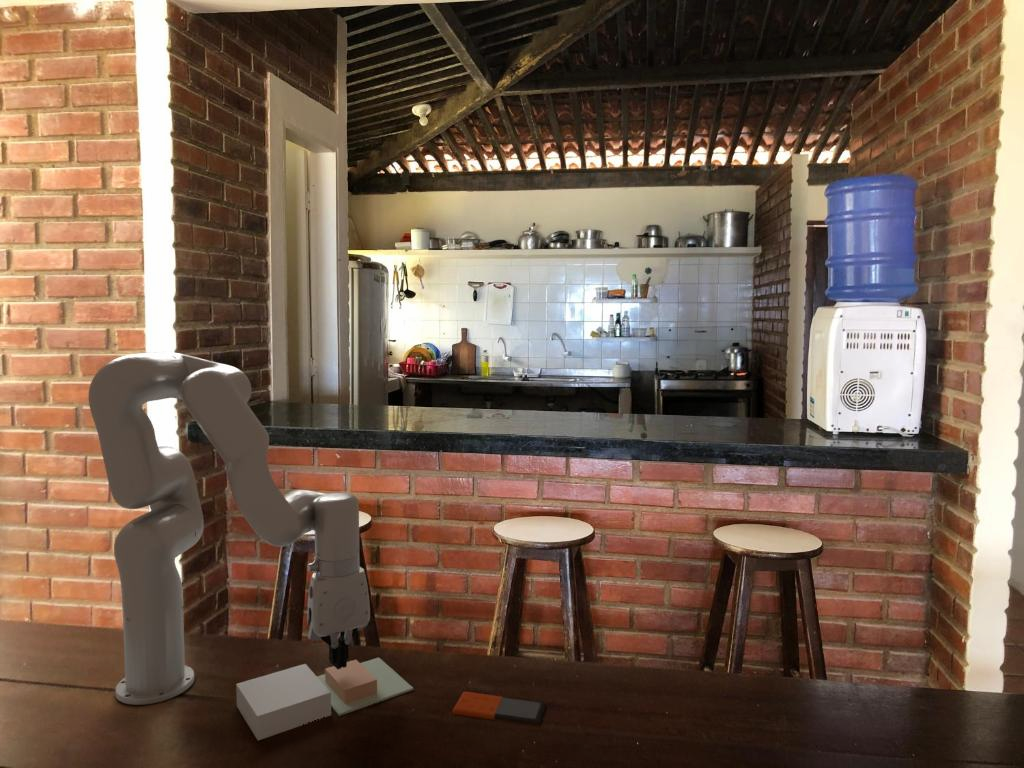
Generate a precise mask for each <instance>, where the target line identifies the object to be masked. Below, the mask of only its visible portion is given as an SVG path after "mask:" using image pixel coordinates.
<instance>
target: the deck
mask: <svg viewBox="0 0 1024 768" xmlns="http://www.w3.org/2000/svg"><path fill="white" fill-rule="evenodd" d="M317 676H318V675H316V674H315V673H314V672H313V671H312V669H311V668H310V667H309V666H308V665H307V664H306V663H303V664H299V665H296V666H292V667H289V668H286V669H282V670H280V671H274V672H272V673H269V674H265V675H263V676H258V677H256V678H255V677H254V678H251V679H248V680H244V681H241V682H238V683H236V684H235V686H236V687H235V688H236V690H235V691H236V692H235V693H236V707H237V709H238V711H239V713H240V714H241V716H242V717H243V719H244V721H245V722H246V724H247V726H248V727H249V729H250V730H251V732H252V733H253V735H254V737H255V739H256V740H257V741H261V740H263V739H266V738H270V737H273V736H275V735H278V734H281V733H284V732H287V731H290V730H293V729H295V728H298V727H301V726H303V724H304V725H307V724H309V723H308V722H310V723H312V721H313V722H315V721H314V720H316V721H318V720H317V719H319V720H322V719H324V718H323V717H325V718H327V717H330V716H332V707H331V692H330V691H329V690H328V689H327V688H326V686H325V685H324V684H323V683H322V682H321V681H320V680H319V679H318V677H317ZM321 718H322V719H321Z"/></svg>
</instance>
